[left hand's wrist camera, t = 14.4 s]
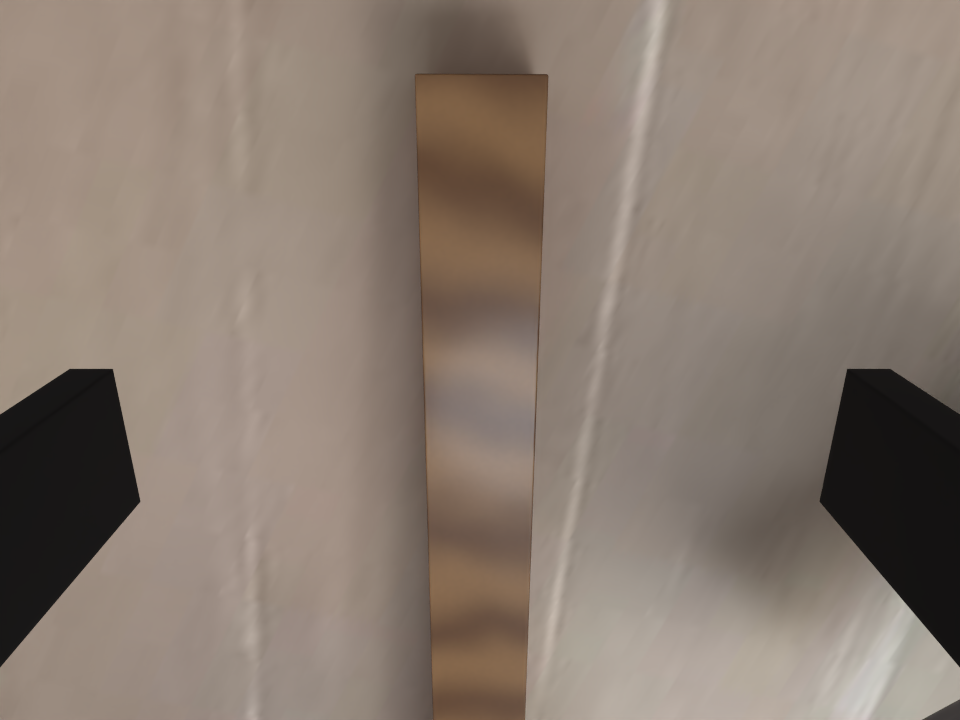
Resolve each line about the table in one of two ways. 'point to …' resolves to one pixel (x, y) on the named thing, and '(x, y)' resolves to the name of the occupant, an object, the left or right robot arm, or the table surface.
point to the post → (480, 376)
